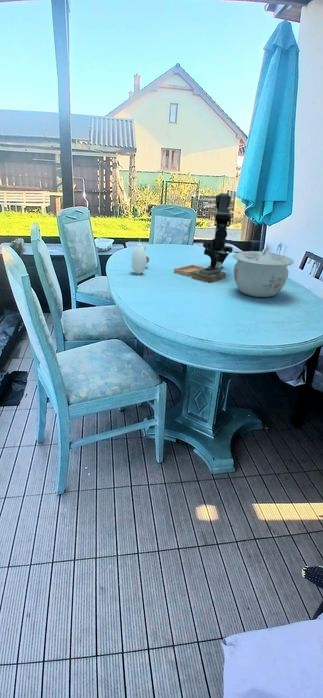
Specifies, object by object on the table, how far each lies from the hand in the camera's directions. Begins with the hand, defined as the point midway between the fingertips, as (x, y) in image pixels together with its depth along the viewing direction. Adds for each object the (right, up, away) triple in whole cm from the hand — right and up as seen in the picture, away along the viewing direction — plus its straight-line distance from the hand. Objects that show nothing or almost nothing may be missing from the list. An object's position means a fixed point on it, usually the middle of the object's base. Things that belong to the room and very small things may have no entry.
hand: (216, 267), depth 204 cm
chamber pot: (+16, -17, -23) cm, 33 cm away
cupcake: (-41, +2, +12) cm, 43 cm away
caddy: (-4, -6, -1) cm, 7 cm away
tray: (-14, -1, +7) cm, 16 cm away
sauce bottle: (-42, -4, -1) cm, 42 cm away
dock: (-5, -6, -3) cm, 8 cm away
